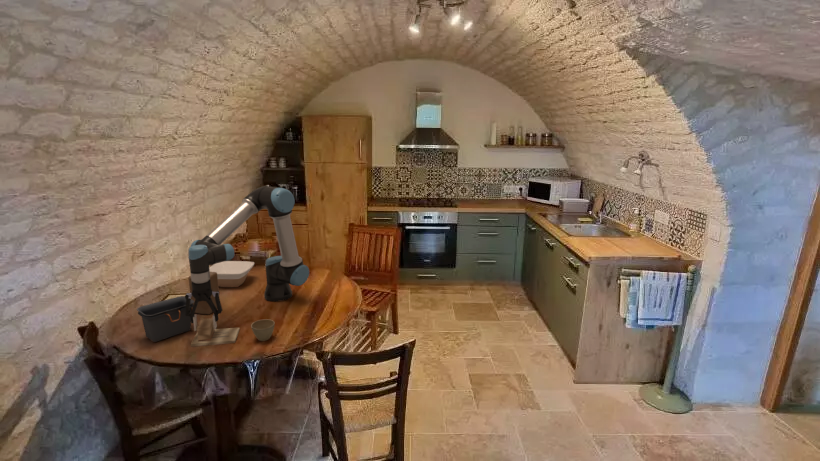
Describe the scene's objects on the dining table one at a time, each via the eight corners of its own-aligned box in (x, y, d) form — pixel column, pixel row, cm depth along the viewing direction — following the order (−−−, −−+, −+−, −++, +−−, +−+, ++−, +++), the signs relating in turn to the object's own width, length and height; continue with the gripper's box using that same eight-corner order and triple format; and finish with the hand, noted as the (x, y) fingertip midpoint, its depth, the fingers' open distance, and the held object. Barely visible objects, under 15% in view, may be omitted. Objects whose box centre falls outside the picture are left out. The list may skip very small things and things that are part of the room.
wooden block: (208, 315, 218) (205, 278, 213) (191, 313, 220) (187, 276, 215) (221, 307, 228) (217, 271, 223) (204, 305, 230) (200, 270, 225)
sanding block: (214, 331, 199) (213, 318, 198) (210, 340, 191) (209, 326, 189) (202, 332, 198) (201, 319, 196) (198, 341, 189) (196, 327, 188)
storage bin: (186, 321, 211) (183, 294, 207) (201, 331, 202) (199, 302, 198) (138, 337, 194) (134, 308, 191) (153, 348, 185) (148, 317, 182)
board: (239, 329, 204) (239, 327, 203) (235, 342, 191) (234, 340, 191) (198, 332, 200) (198, 330, 199) (191, 346, 187) (190, 344, 187)
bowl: (244, 291, 250) (243, 274, 248) (202, 290, 251) (200, 273, 248) (258, 277, 274) (257, 261, 271) (220, 276, 274) (218, 260, 271)
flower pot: (255, 333, 200) (254, 319, 198) (277, 333, 201) (276, 318, 199) (249, 344, 190) (248, 329, 189) (272, 343, 191) (271, 328, 190)
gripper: (227, 276, 194) (231, 323, 199) (178, 278, 189) (183, 326, 195) (224, 282, 187) (228, 330, 192) (172, 284, 182) (178, 334, 188)
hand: (205, 328), depth 193 cm, fingers open, 7 cm apart
